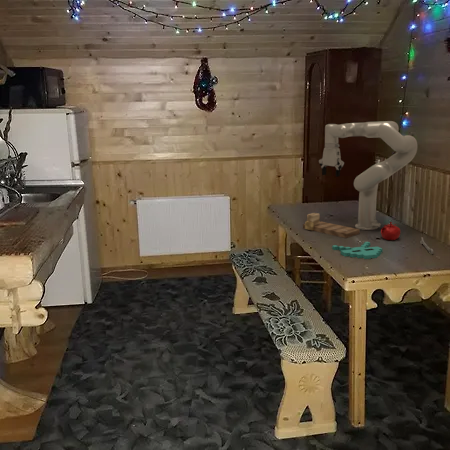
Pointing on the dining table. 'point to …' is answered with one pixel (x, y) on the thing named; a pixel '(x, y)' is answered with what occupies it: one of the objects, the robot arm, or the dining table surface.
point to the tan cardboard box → (312, 221)
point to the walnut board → (335, 229)
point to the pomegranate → (390, 232)
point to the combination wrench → (426, 246)
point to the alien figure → (360, 251)
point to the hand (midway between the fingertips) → (330, 175)
